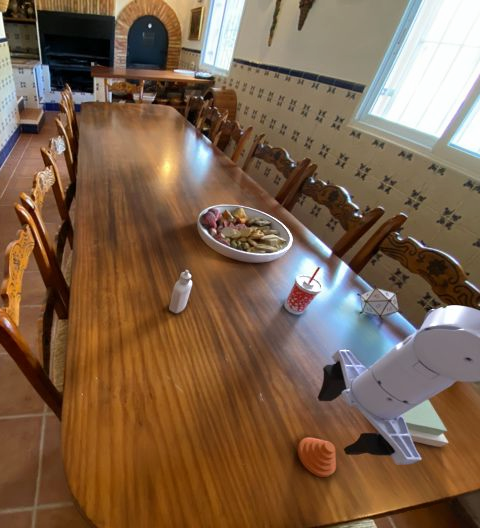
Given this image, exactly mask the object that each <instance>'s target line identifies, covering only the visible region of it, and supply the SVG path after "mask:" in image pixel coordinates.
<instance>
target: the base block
mask: <svg viewBox="0 0 480 528" xmlns="http://www.w3.org/2000/svg"><path fill="white" fill-rule="evenodd" d="M408 430H409V433H410V436H411V439H412V441H413V443H420V444H425V445H428V446H433V447H438V448H442V447H444V446H445V445H447V444H449V441H448V439H447V438H446V436H445V433H443V434H441V435H434V434H430V433H425V432H420V431H415V430H410V429H408Z"/></svg>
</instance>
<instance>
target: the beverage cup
mask: <svg viewBox="0 0 480 528" xmlns="http://www.w3.org/2000/svg"><path fill="white" fill-rule="evenodd" d="M320 269H321V266H317V268H316V269H315V271H314V272H313V274H312V276H311V275H309V274H298V275H297V276H296V277H295V279H294V283H293V284H292V285H293V286H292V287H291V289H290V291H289V294H288V296H287V298H286V300H285V302H284V305H283V306H284V308H285V309H286V310H287V311H288V312H289V313H290V314H293V315H302V314H303V313H304V312H305V310H306V309H307V308H308V307H309V305H310V304H311V303H312V302H313V301H314V299H315V298H316V297H317V296H318V294H320V293H321V292H322V291H323V290H324V285H323V283H322V282H321V281H320V280H319V279H317V278H316V275H317V274H318V273H319V271H320Z"/></svg>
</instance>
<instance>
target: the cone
mask: <svg viewBox="0 0 480 528" xmlns="http://www.w3.org/2000/svg"><path fill="white" fill-rule="evenodd" d="M297 455H298V458H299V461H300V462H301V464H302V465H303V466H304V467H305V469H307V470H308V471H309V472H310V473H312V474H313V475H315V476H317V477H321V478H327V477H329V476H331V475H333V474H334V473H335V471H336V469H337V457H336V456H337V455H336V446H335V445H334V444H333V443H332V442H330V441H328V440H324V439H320V438H316V437H315V438H314V437H305V438H303V439H302V440H300V441H299V443H298V444H297Z"/></svg>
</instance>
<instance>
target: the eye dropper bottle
mask: <svg viewBox="0 0 480 528" xmlns="http://www.w3.org/2000/svg"><path fill="white" fill-rule="evenodd" d="M191 279H192V275H191V274H190V271H189V270H188V269H185V270H184V271H182V272H181V273H180V275H179V279H177V281H176V283H175V284H174V286H173V289H172V293H171V298H170V302H169V307H168V311H170V312H171V313H174V314H179V313H181V312H183V311H184V310H185V308H186V306H187V303H188V301H189V297H190V293H191V290H192V286H193V281H192V280H191Z"/></svg>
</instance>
